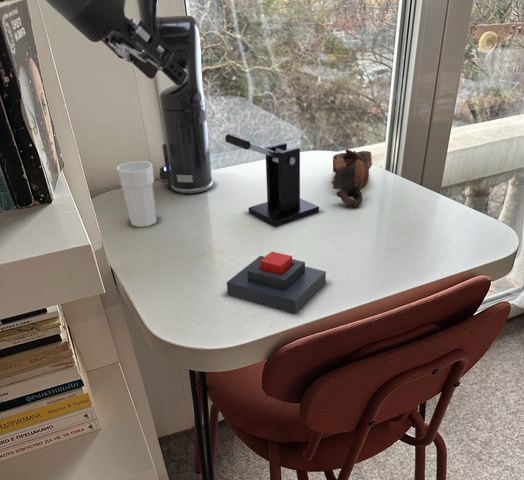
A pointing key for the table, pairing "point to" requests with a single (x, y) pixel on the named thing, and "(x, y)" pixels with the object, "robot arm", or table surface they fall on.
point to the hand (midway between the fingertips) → (168, 76)
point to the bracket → (283, 189)
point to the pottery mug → (351, 178)
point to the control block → (277, 285)
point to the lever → (252, 146)
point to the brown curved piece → (352, 161)
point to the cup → (138, 191)
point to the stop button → (276, 263)
